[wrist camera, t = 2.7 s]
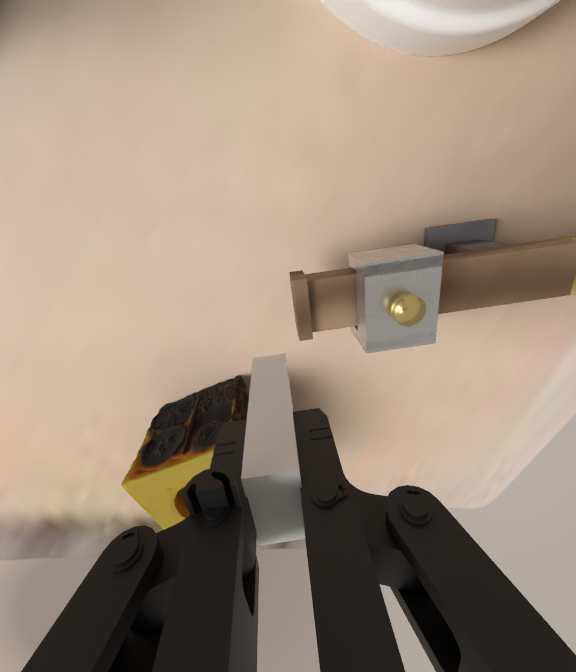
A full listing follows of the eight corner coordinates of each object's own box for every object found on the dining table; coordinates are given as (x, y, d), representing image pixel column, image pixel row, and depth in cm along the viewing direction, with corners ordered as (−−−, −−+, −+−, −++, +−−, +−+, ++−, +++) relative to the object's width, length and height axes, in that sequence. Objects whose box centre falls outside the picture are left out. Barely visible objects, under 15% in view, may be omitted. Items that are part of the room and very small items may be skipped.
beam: (283, 247, 27) (290, 263, 20) (629, 199, 27) (755, 197, 20) (293, 319, 29) (301, 354, 22) (604, 274, 30) (707, 295, 23)
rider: (348, 253, 22) (370, 266, 17) (414, 243, 22) (455, 254, 17) (351, 331, 25) (371, 361, 20) (410, 322, 25) (444, 350, 20)
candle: (240, 373, 32) (231, 441, 23) (276, 438, 36) (280, 518, 27) (157, 405, 33) (115, 483, 24) (201, 465, 37) (180, 551, 28)
